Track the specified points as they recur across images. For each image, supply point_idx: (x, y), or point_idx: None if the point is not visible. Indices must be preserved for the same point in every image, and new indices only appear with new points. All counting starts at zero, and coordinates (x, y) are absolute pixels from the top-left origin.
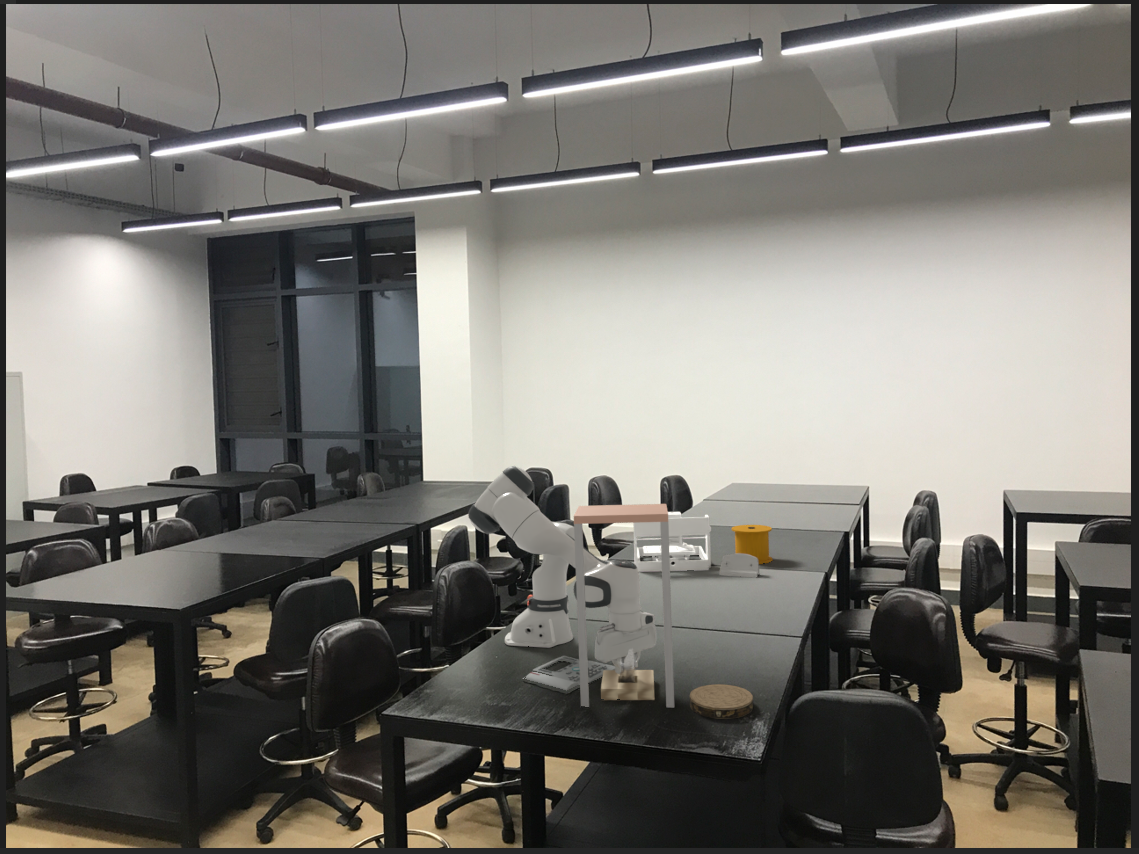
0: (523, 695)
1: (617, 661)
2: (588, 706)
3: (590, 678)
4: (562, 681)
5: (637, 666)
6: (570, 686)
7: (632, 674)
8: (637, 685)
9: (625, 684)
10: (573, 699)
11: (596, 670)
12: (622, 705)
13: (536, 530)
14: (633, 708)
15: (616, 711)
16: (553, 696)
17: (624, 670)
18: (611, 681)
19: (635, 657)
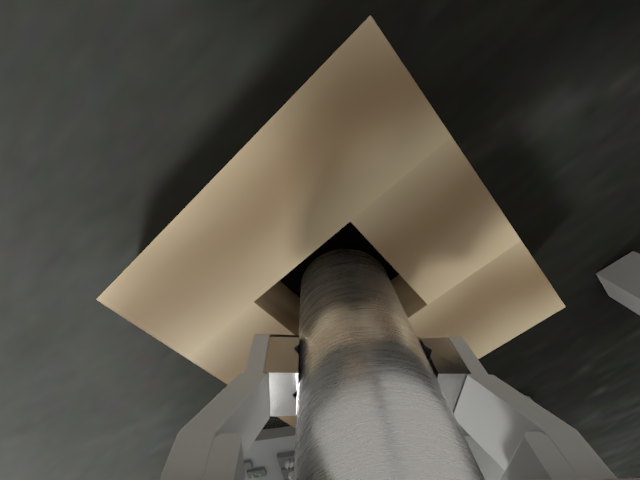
0: None
1: (576, 441)
2: (638, 254)
3: None
4: (485, 466)
5: (258, 338)
6: None
7: (357, 287)
8: (393, 183)
9: (427, 255)
10: (564, 352)
11: (286, 468)
12: (534, 142)
13: None
14: (549, 50)
15: (632, 104)
16: (567, 411)
17: (418, 341)
18: None
19: (242, 426)
